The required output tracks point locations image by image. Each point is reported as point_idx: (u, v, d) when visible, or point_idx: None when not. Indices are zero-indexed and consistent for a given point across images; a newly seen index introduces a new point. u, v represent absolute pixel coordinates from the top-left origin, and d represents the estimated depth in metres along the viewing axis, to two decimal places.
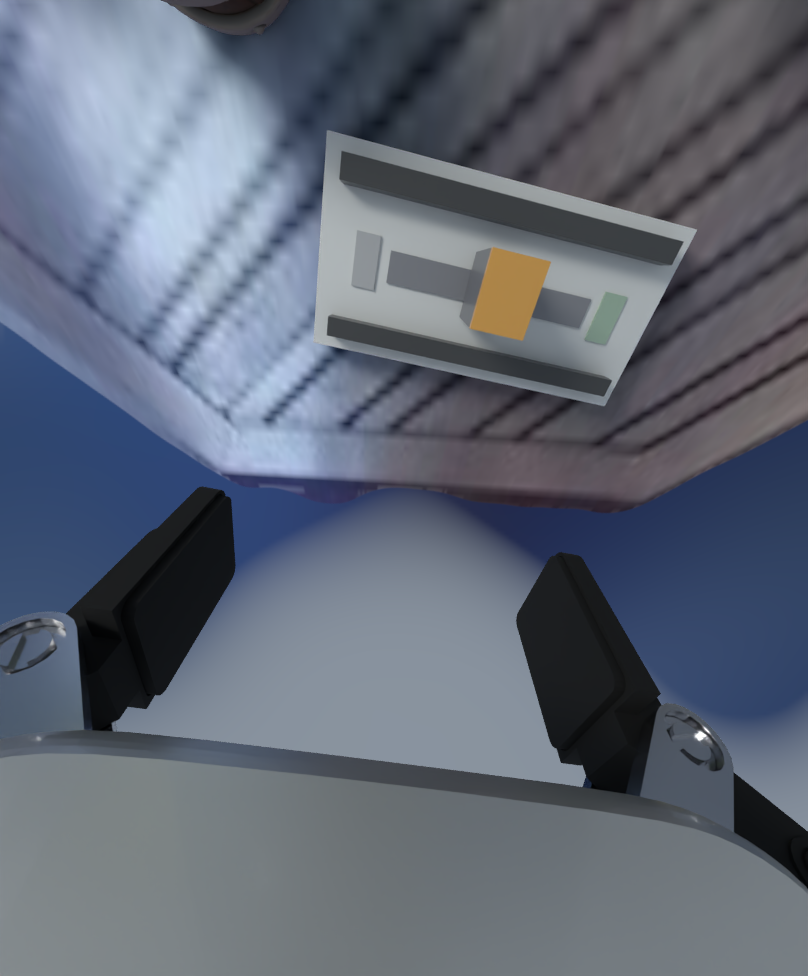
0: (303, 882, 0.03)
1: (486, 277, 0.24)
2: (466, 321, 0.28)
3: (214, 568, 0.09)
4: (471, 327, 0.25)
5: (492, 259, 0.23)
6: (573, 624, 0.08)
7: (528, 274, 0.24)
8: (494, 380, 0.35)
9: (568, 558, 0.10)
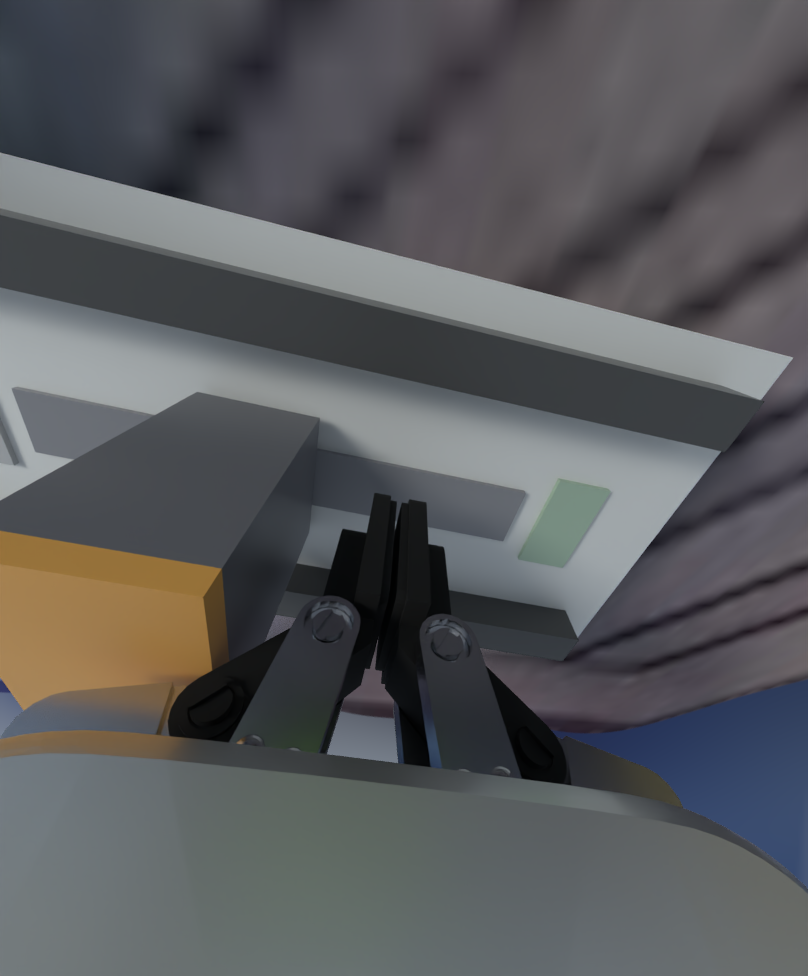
0: (303, 882, 0.03)
1: None
2: None
3: None
4: None
5: None
6: (396, 557, 0.09)
7: (131, 626, 0.06)
8: None
9: (411, 503, 0.10)
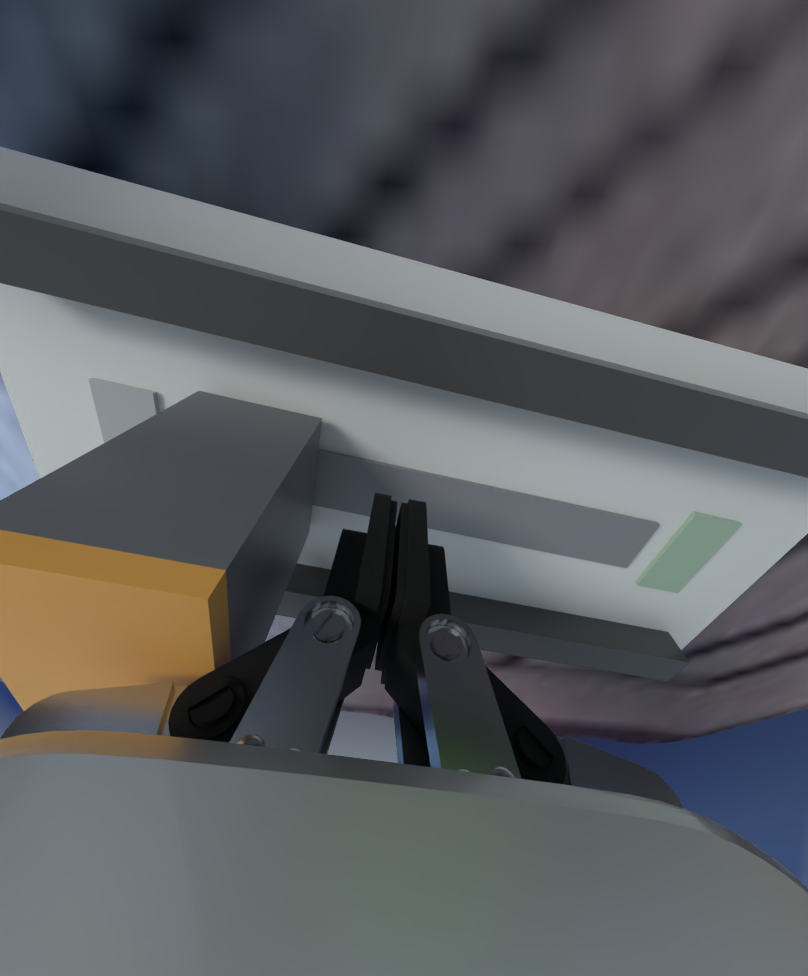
0: (303, 882, 0.03)
1: None
2: None
3: None
4: None
5: None
6: (396, 557, 0.09)
7: (135, 627, 0.06)
8: None
9: (411, 503, 0.10)
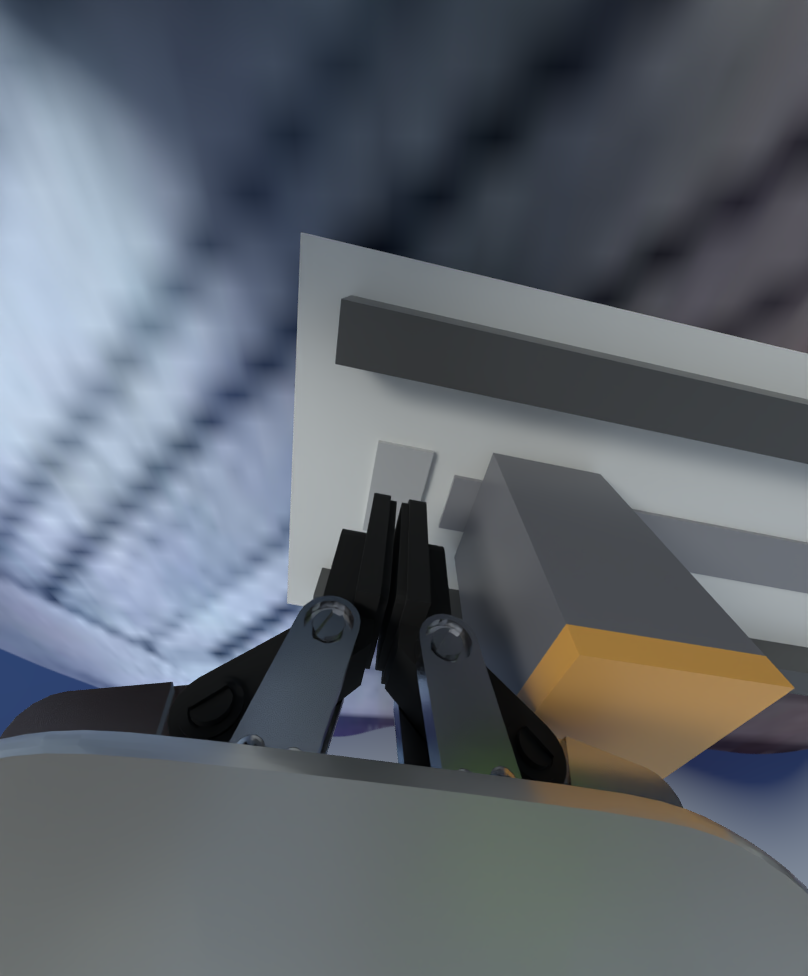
0: (303, 882, 0.03)
1: (545, 708, 0.07)
2: None
3: None
4: None
5: (571, 679, 0.06)
6: (396, 557, 0.09)
7: (697, 709, 0.07)
8: None
9: (411, 503, 0.10)
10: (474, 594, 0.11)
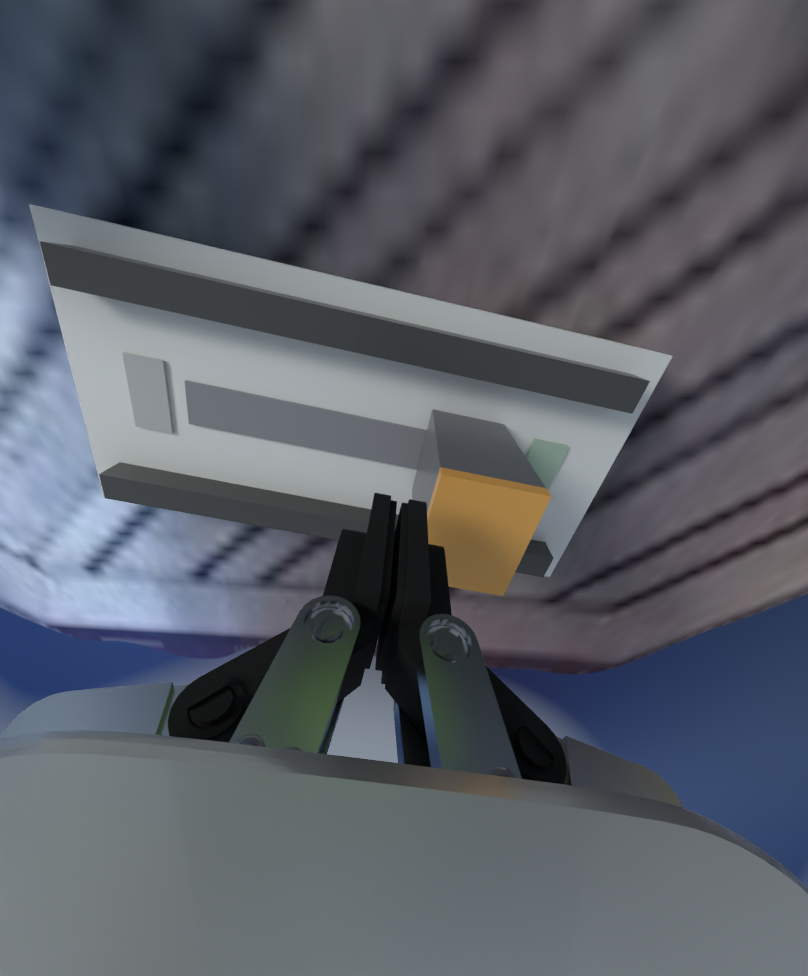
0: (304, 881, 0.03)
1: (433, 516, 0.13)
2: None
3: None
4: None
5: (441, 492, 0.12)
6: (396, 557, 0.09)
7: (509, 513, 0.13)
8: None
9: (411, 503, 0.10)
10: (417, 497, 0.18)
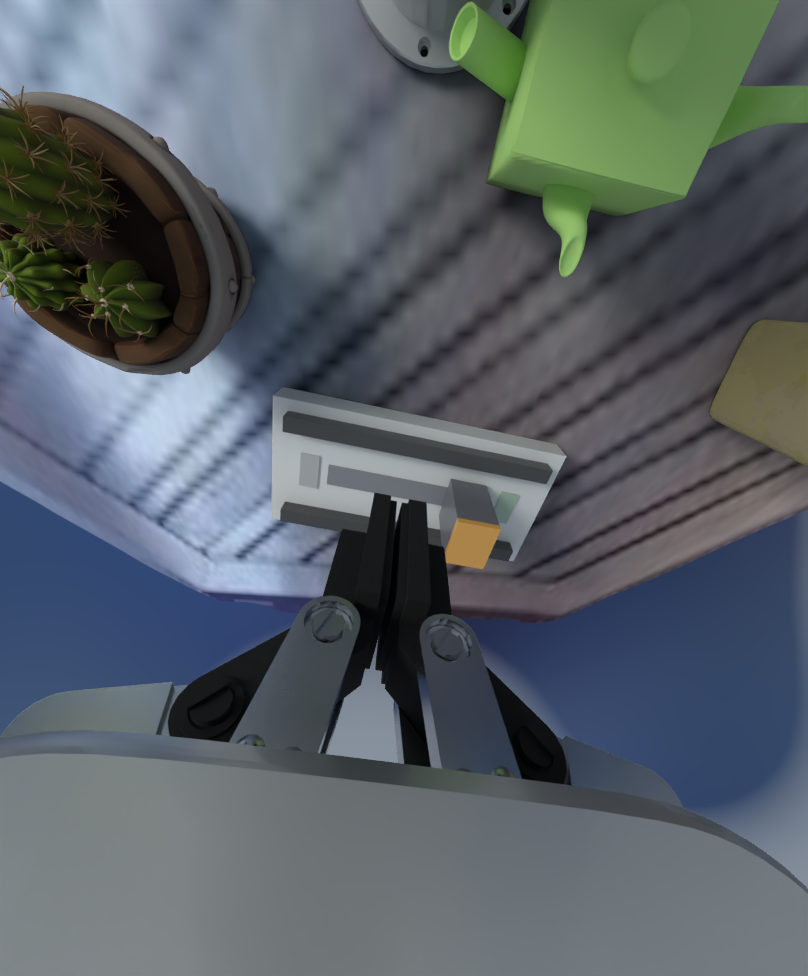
0: (303, 882, 0.03)
1: (454, 536, 0.32)
2: (441, 542, 0.36)
3: None
4: None
5: (457, 527, 0.32)
6: (396, 557, 0.09)
7: (484, 535, 0.32)
8: None
9: (411, 503, 0.10)
10: (443, 523, 0.37)
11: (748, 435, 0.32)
